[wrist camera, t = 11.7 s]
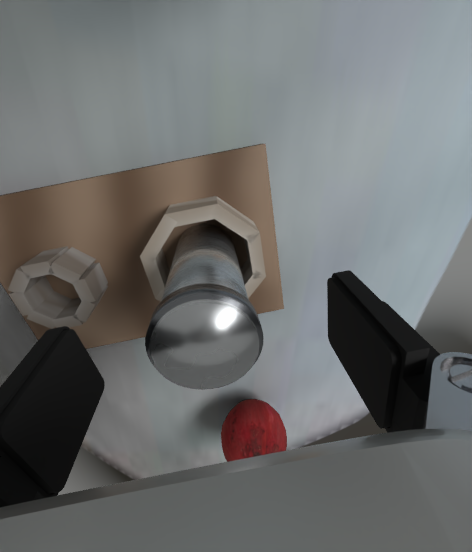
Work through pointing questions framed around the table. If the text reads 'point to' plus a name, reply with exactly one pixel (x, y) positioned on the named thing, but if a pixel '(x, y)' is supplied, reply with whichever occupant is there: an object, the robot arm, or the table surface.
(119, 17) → the table surface
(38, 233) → the fitting board
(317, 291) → the table surface
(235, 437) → the onion
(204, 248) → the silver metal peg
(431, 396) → the robot arm
